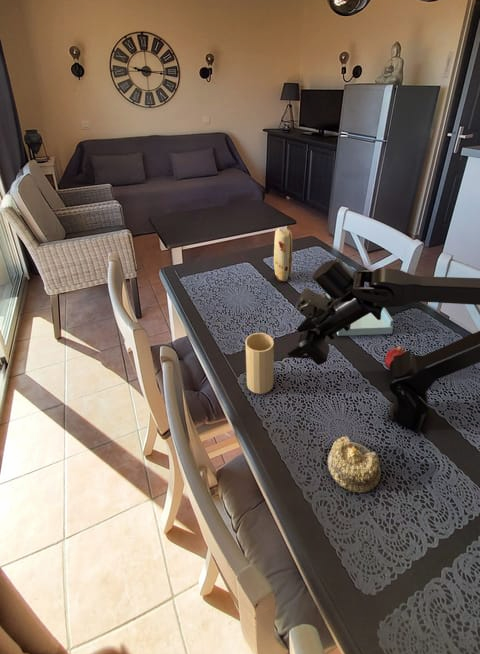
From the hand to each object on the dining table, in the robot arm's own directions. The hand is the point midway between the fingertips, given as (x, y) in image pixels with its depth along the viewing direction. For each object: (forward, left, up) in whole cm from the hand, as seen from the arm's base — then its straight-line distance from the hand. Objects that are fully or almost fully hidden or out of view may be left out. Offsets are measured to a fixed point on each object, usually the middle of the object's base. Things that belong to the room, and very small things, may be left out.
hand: (293, 342), depth 84 cm
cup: (-4, +7, -14) cm, 16 cm away
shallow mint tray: (+36, -2, -14) cm, 38 cm away
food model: (+44, +30, -14) cm, 55 cm away
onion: (+20, -19, -14) cm, 31 cm away
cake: (-10, -20, -14) cm, 26 cm away
